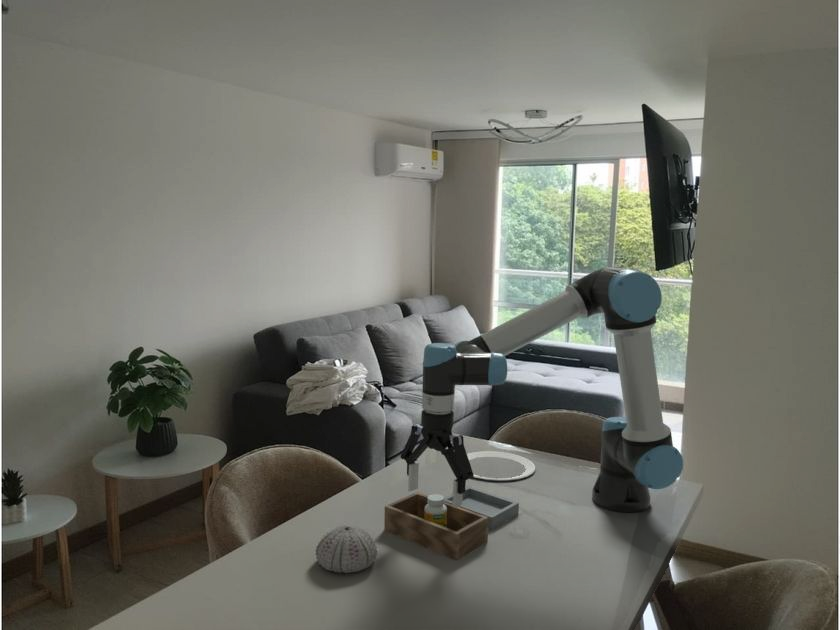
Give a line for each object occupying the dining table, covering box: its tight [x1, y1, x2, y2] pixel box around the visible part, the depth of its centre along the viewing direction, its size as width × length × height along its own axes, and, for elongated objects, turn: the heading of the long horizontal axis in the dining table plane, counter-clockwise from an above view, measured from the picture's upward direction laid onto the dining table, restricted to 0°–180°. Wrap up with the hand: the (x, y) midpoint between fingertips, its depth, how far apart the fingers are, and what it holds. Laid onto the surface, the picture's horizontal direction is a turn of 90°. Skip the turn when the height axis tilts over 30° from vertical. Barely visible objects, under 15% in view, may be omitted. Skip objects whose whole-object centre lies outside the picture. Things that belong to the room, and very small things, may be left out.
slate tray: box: [444, 486, 520, 530], centre depth 174 cm, size 16×12×3 cm
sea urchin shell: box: [315, 524, 378, 574], centre depth 147 cm, size 13×14×8 cm
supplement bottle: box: [424, 493, 447, 528], centre depth 160 cm, size 5×5×10 cm
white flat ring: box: [467, 450, 536, 482], centre depth 207 cm, size 25×25×1 cm
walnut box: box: [383, 491, 489, 561], centre depth 161 cm, size 22×12×6 cm, turn 49°
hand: (434, 497), depth 160 cm, fingers open, 13 cm apart
